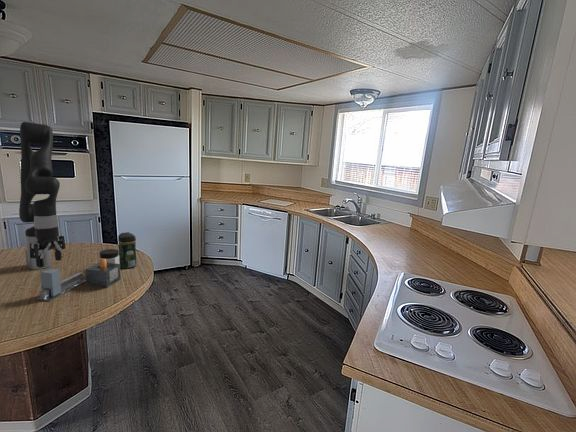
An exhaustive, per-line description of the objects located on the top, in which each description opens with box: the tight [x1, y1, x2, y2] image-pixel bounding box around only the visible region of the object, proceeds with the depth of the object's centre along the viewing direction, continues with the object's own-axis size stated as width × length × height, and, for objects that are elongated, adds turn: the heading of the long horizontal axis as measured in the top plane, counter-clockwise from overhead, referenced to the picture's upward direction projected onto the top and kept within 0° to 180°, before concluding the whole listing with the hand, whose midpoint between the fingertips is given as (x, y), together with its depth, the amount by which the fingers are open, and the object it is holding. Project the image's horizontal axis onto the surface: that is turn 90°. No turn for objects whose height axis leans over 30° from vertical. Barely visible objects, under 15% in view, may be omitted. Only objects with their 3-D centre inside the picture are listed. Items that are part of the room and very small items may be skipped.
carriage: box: [39, 268, 62, 296], centre depth 126 cm, size 5×4×10 cm
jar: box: [98, 248, 120, 264], centre depth 152 cm, size 9×8×12 cm
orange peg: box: [98, 259, 107, 268], centre depth 141 cm, size 3×3×8 cm
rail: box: [35, 271, 86, 302], centre depth 132 cm, size 6×21×4 cm, turn 175°
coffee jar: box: [117, 231, 137, 269], centre depth 163 cm, size 10×8×19 cm
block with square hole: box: [85, 262, 122, 288], centre depth 142 cm, size 10×10×8 cm
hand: (49, 263), depth 124 cm, fingers open, 8 cm apart
